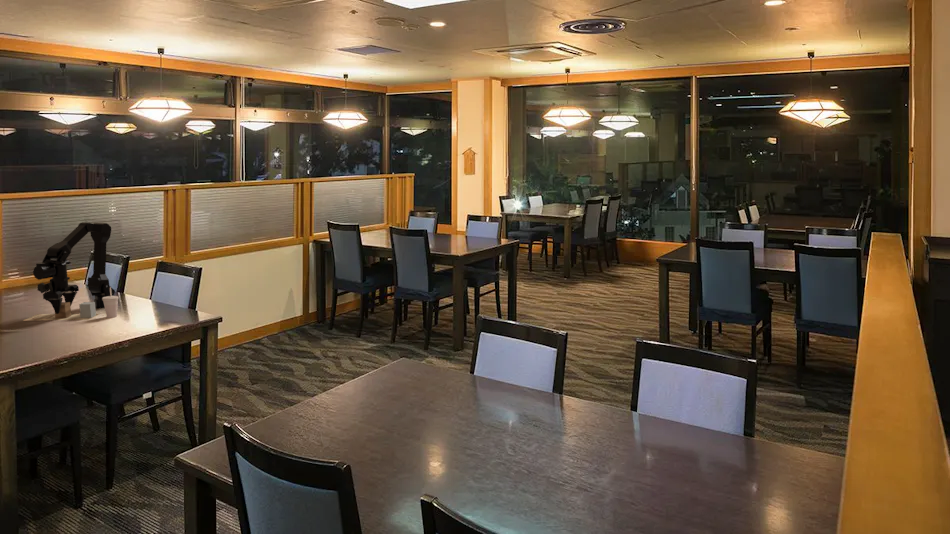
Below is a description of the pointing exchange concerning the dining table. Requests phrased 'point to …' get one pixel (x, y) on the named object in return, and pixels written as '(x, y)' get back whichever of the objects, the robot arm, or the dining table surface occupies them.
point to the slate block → (87, 310)
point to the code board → (52, 317)
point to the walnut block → (64, 310)
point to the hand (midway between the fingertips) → (63, 311)
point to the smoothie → (110, 305)
